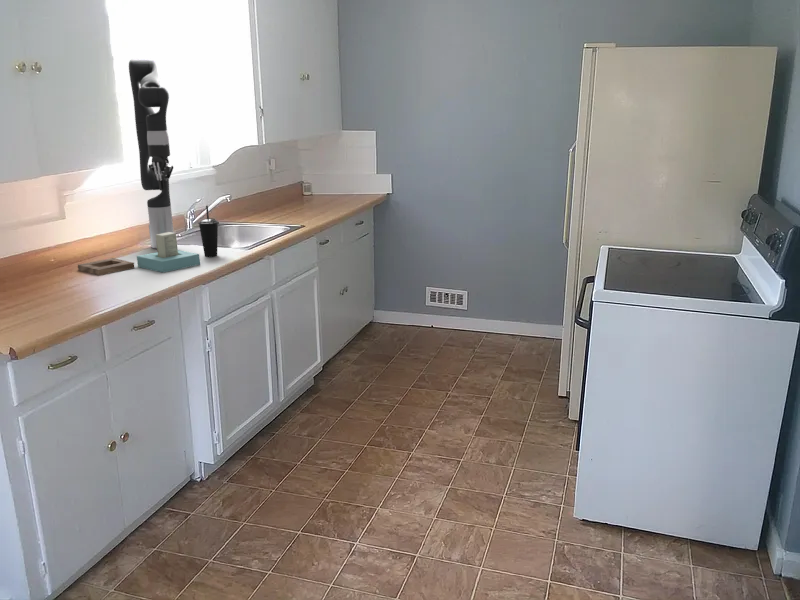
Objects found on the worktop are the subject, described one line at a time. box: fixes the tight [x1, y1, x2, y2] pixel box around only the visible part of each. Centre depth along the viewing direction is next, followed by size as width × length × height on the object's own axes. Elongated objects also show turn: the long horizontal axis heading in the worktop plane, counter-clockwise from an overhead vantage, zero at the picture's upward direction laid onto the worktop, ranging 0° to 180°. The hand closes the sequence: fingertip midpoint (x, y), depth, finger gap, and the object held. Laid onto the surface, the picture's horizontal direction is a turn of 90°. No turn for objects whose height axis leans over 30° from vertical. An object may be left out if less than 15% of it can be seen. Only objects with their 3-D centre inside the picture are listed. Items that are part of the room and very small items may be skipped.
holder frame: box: [77, 257, 135, 276], centre depth 256 cm, size 14×14×2 cm
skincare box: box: [156, 231, 179, 258], centre depth 260 cm, size 6×4×12 cm
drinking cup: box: [197, 205, 219, 258], centre depth 274 cm, size 8×8×20 cm
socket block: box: [136, 249, 201, 273], centre depth 261 cm, size 16×16×4 cm
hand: (163, 190), depth 263 cm, fingers closed
